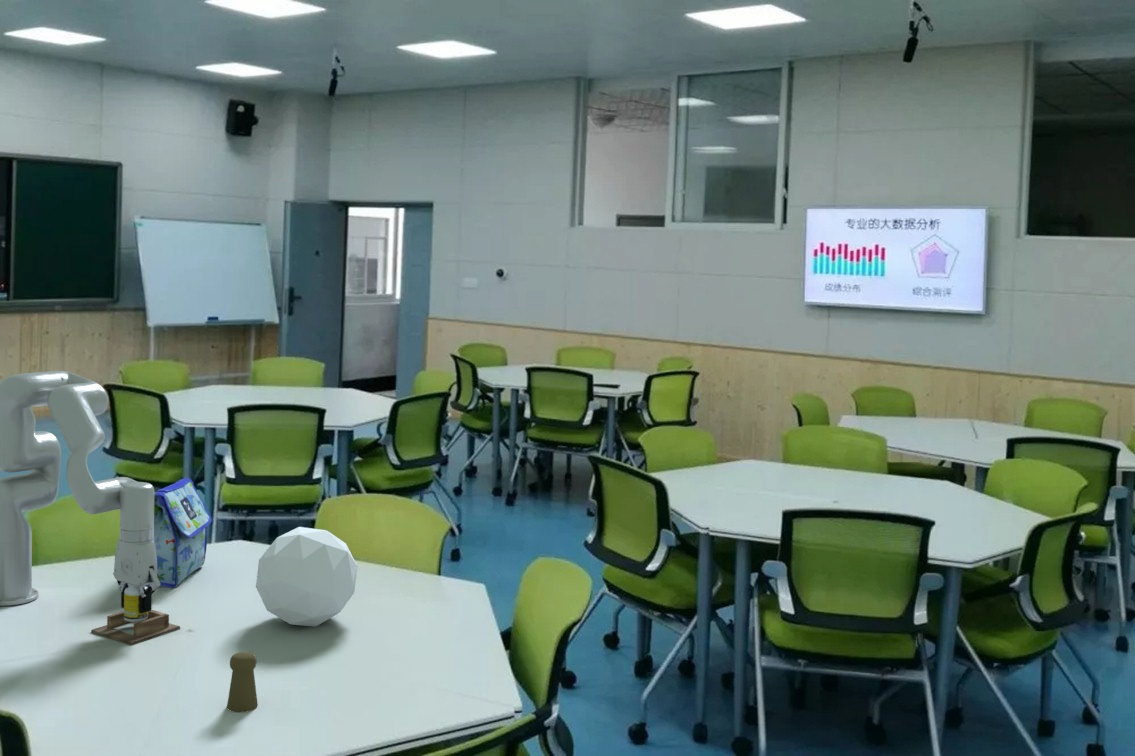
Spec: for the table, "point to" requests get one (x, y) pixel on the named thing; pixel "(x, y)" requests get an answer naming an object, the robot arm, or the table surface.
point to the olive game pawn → (242, 683)
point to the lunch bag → (179, 531)
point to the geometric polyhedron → (306, 576)
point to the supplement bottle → (133, 604)
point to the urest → (136, 627)
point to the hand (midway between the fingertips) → (136, 608)
